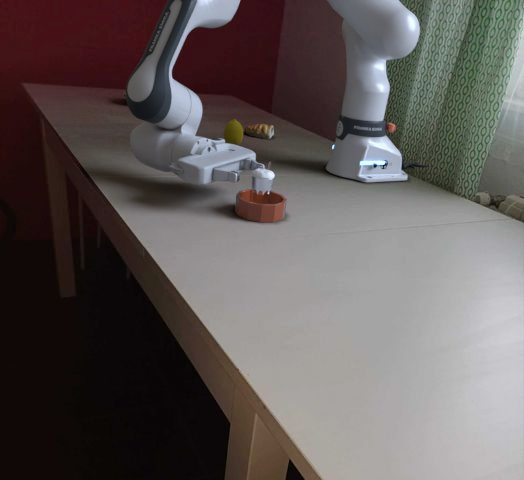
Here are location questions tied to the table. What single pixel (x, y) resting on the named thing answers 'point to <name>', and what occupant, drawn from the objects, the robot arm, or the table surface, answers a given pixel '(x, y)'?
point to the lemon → (233, 132)
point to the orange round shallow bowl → (260, 207)
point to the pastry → (260, 130)
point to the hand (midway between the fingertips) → (250, 173)
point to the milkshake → (262, 185)
